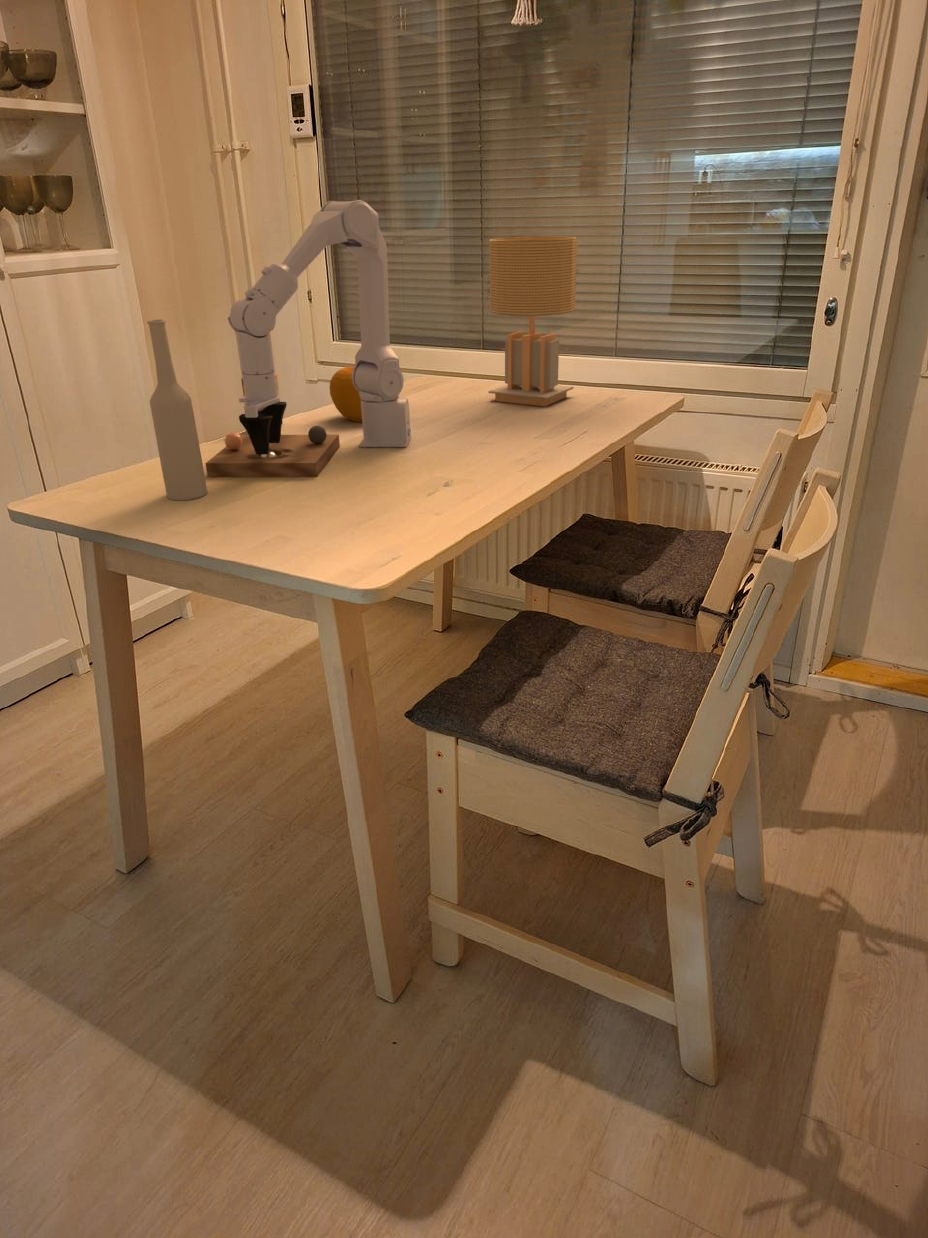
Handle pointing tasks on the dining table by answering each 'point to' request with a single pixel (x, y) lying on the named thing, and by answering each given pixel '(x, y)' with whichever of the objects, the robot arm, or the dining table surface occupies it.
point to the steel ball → (269, 454)
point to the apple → (346, 394)
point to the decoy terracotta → (233, 441)
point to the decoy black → (317, 434)
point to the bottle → (174, 425)
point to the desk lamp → (532, 311)
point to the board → (275, 458)
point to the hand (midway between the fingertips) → (268, 448)
